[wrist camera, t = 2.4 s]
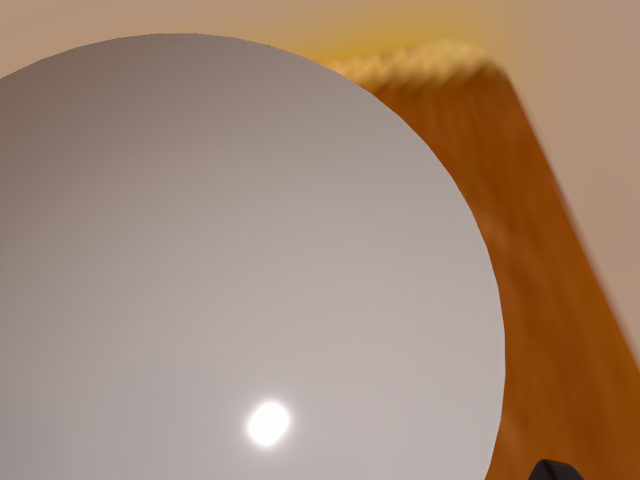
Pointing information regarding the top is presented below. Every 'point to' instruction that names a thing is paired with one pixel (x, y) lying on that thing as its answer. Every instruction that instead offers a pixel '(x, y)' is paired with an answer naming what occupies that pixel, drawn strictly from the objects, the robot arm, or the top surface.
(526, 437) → the top surface
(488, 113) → the top surface
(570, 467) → the robot arm
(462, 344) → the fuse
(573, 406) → the top surface
